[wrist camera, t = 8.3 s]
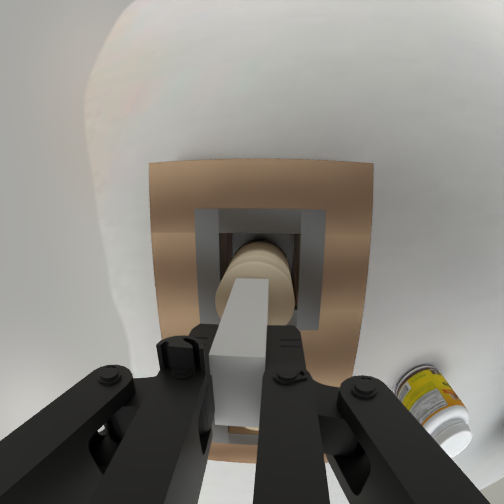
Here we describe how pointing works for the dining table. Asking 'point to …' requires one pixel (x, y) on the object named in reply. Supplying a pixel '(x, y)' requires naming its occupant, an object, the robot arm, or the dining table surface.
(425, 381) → the supplement bottle
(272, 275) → the beige round peg
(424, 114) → the dining table surface
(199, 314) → the socket block
